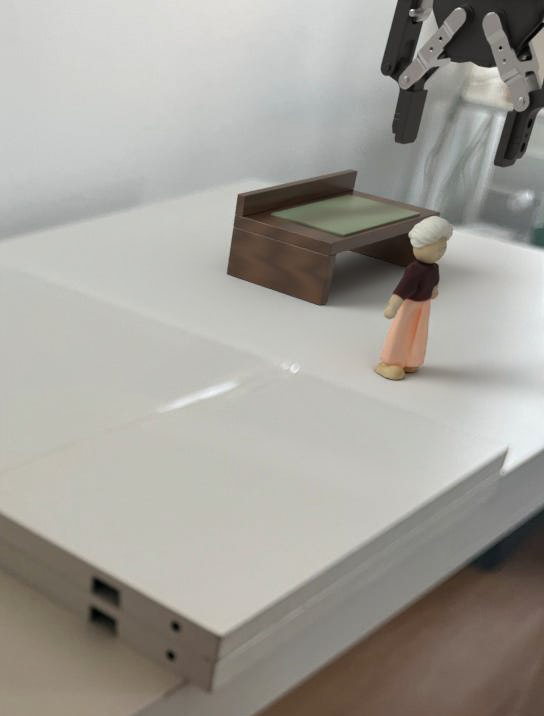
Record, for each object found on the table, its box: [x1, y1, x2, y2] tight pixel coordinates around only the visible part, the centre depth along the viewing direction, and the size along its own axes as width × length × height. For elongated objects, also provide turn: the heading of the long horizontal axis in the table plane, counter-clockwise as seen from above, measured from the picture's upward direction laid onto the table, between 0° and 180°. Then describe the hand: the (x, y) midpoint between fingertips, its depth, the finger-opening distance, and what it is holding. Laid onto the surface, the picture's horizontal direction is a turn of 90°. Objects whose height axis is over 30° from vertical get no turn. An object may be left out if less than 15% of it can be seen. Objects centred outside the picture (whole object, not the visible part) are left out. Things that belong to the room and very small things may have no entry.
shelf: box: [226, 168, 441, 306], centre depth 109 cm, size 12×20×8 cm, turn 133°
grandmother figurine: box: [373, 216, 454, 381], centre depth 86 cm, size 8×4×13 cm, turn 147°
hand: (452, 153), depth 79 cm, fingers open, 8 cm apart
